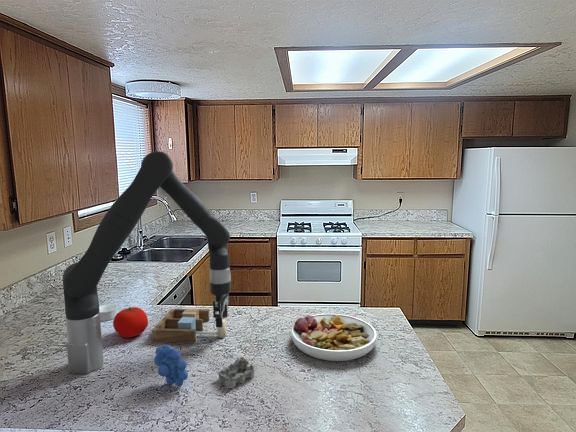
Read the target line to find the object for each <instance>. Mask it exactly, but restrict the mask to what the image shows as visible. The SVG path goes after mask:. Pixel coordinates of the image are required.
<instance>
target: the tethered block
mask: <svg viewBox="0 0 576 432" xmlns="http://www.w3.org/2000/svg"><path fill="white" fill-rule="evenodd" d="M226 321H227V320H226V319H225V318H222V325H223V326H222V327H216V328H217V331H196V335H203V336H204V335H209V336H210V335H211V336H212V335H213V336H217V338H218V339H224V338H226V337H227V330H226V329H227V328H226V326H227V325H226ZM178 329H196V320H195V317H182V318H181V319H180V321H179V322H178Z"/></svg>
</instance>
